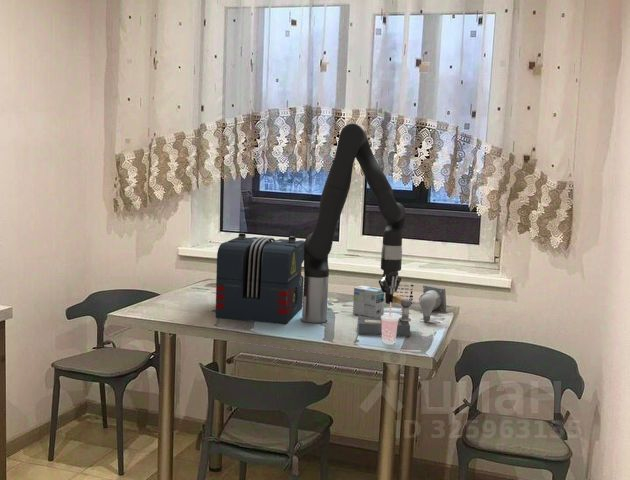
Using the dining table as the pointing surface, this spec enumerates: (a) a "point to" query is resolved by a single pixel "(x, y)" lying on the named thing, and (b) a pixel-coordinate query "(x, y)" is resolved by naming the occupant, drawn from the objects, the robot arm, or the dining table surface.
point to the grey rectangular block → (375, 324)
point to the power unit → (259, 279)
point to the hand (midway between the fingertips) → (389, 303)
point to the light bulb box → (368, 301)
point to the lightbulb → (427, 306)
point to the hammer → (401, 300)
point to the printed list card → (435, 292)
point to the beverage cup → (389, 328)
